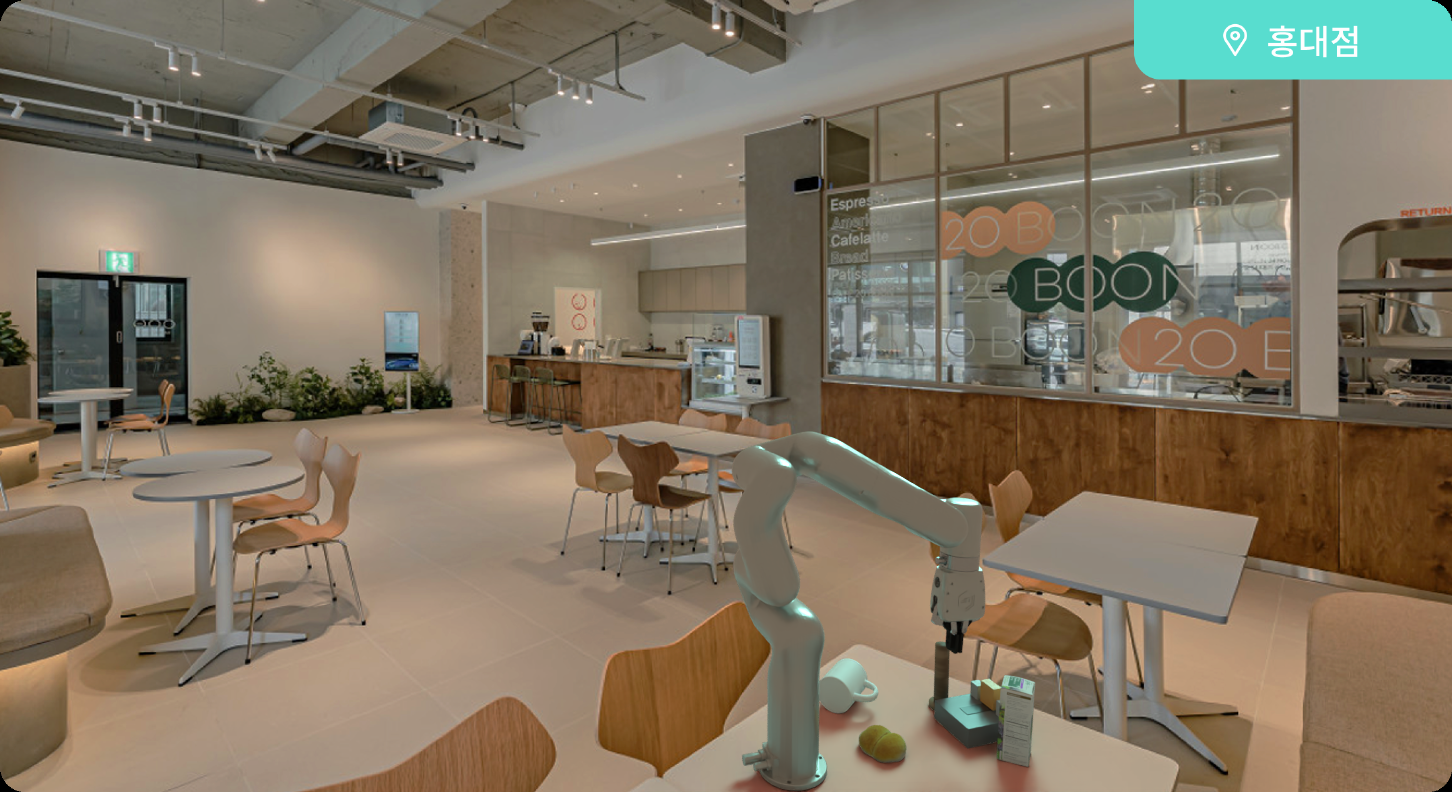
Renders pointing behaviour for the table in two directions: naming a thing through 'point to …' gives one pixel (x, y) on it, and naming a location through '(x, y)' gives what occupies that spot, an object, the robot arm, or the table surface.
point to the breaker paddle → (989, 693)
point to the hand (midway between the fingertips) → (953, 650)
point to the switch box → (969, 717)
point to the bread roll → (882, 744)
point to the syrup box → (1015, 720)
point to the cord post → (940, 673)
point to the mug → (845, 686)
